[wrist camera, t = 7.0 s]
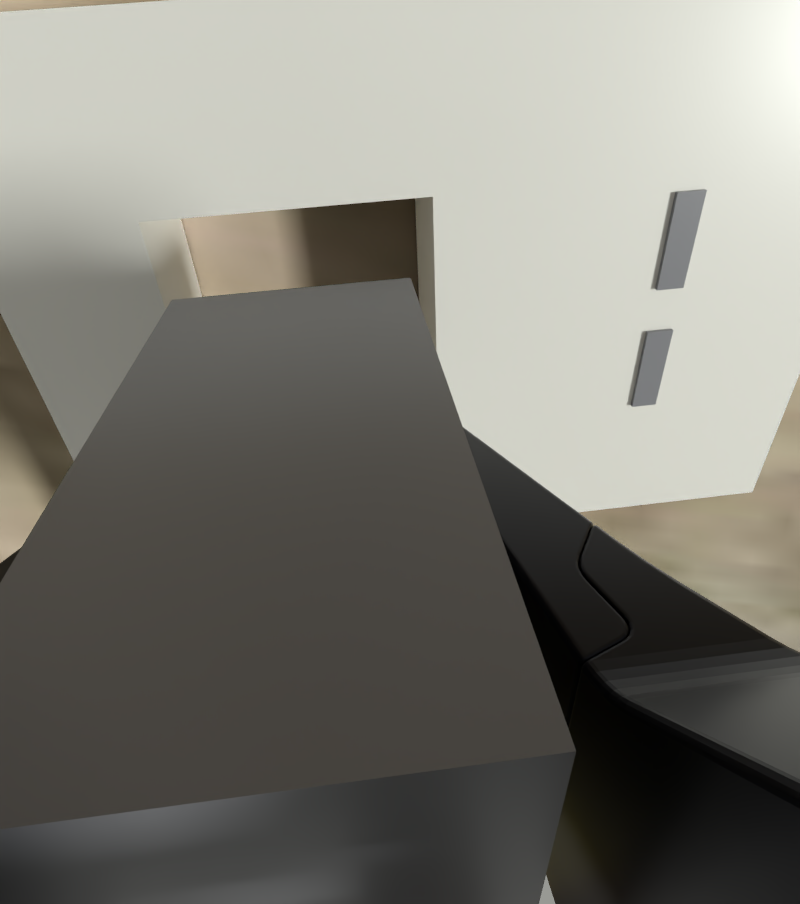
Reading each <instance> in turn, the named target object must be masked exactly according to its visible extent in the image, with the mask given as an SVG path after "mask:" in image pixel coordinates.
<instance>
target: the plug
mask: <svg viewBox="0 0 800 904" xmlns="http://www.w3.org/2000/svg"><path fill="white" fill-rule="evenodd" d="M575 754H576V749H575V746H574V743H573V741H572V738H571V735H570V732H569V729H568V726H567V723H566V721H565V718H564V715H563V712H562V709H561V706H560V703H559V701H558V698H557V695H556V692H555V689H554V686H553V683H552V681H551V678H550V675H549V672H548V669H547V666H546V663H545V661H544V658H543V655H542V652H541V649H540V646H539V643H538V641H537V638H536V635H535V632H534V629H533V626H532V623H531V621H530V618H529V615H528V612H527V609H526V606H525V603H524V601H523V598H522V595H521V592H520V589H519V586H518V583H517V581H516V578H515V575H514V572H513V569H512V566H511V563H510V561H509V558H508V555H507V552H506V549H505V546H504V543H503V541H502V538H501V535H500V532H499V529H498V526H497V523H496V521H495V518H494V515H493V512H492V509H491V506H490V503H489V501H488V498H487V495H486V492H485V489H484V486H483V483H482V481H481V478H480V475H479V472H478V469H477V466H476V463H475V461H474V458H473V455H472V452H471V449H470V446H469V443H468V441H467V438H466V435H465V432H464V429H463V426H462V423H461V421H460V418H459V415H458V412H457V409H456V406H455V403H454V401H453V398H452V395H451V392H450V389H449V386H448V383H447V381H446V378H445V375H444V372H443V369H442V366H441V363H440V361H439V358H438V355H437V352H436V349H435V346H434V343H433V341H432V338H431V335H430V332H429V329H428V326H427V323H426V321H425V318H424V315H423V312H422V309H421V306H420V303H419V301H418V298H417V295H416V292H415V289H414V286H413V283H412V281H411V278H401V279H390V280H379V281H369V282H358V283H347V284H336V285H326V286H315V287H304V288H293V289H283V290H272V291H261V292H250V293H240V294H229V295H218V296H207V297H197V298H186V299H175V300H171V302H170V303H169V305H168V307H167V308H166V310H165V312H164V313H163V315H162V317H161V318H160V320H159V321H158V323H157V325H156V326H155V328H154V330H153V331H152V333H151V335H150V336H149V338H148V340H147V341H146V343H145V345H144V346H143V348H142V350H141V351H140V353H139V354H138V356H137V358H136V359H135V361H134V363H133V364H132V366H131V368H130V369H129V371H128V373H127V374H126V376H125V378H124V379H123V381H122V383H121V384H120V386H119V388H118V389H117V391H116V392H115V394H114V396H113V397H112V399H111V401H110V402H109V404H108V406H107V407H106V409H105V411H104V412H103V414H102V416H101V417H100V419H99V421H98V422H97V424H96V425H95V427H94V429H93V430H92V432H91V434H90V435H89V437H88V439H87V440H86V442H85V444H84V445H83V447H82V449H81V450H80V452H79V454H78V455H77V457H76V458H75V460H74V462H73V463H72V465H71V467H70V468H69V470H68V472H67V473H66V475H65V477H64V478H63V480H62V482H61V483H60V485H59V487H58V488H57V490H56V491H55V493H54V495H53V496H52V498H51V500H50V501H49V503H48V505H47V506H46V508H45V510H44V511H43V513H42V515H41V516H40V518H39V520H38V521H37V523H36V524H35V526H34V528H33V529H32V531H31V533H30V534H29V536H28V538H27V539H26V541H25V543H24V544H23V546H22V548H21V549H20V551H19V553H18V554H17V556H16V557H15V559H14V561H13V562H12V564H11V566H10V567H9V569H8V571H7V572H6V574H5V576H4V577H3V579H2V581H1V582H0V904H539V900H540V896H541V892H542V888H543V884H544V880H545V876H546V872H547V868H548V864H549V860H550V856H551V852H552V848H553V844H554V840H555V835H556V831H557V827H558V823H559V819H560V815H561V811H562V807H563V803H564V799H565V795H566V791H567V787H568V783H569V779H570V775H571V771H572V766H573V762H574V758H575Z"/></svg>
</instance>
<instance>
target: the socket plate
mask: <svg viewBox="0 0 800 904" xmlns="http://www.w3.org/2000/svg"><path fill="white" fill-rule="evenodd" d="M412 198H415V213H416V238H417V262H418V287H419V303H420V306H421V309H422V312H423V315H424V318H425V321H426V323H427V326H428V329H429V332H430V335H431V338H432V341H433V343H434V346H435V349H436V352H437V355H438V358H439V361H440V363H441V366H442V369H443V372H444V375H445V378H446V381H447V383H448V386H449V389H450V392H451V395H452V398H453V401H454V403H455V406H456V409H457V412H458V415H459V418H460V421H461V423H462V426H463V427H464V428H465V429H466V430H468V431H469V432H470V433H472V434H473V435H475V436H476V437H477V438H479V439H480V440H481V441H483V442H484V443H485V444H487V445H488V446H489V447H491V448H492V449H493V450H495V451H496V452H497V453H499V454H500V455H502V456H503V457H504V458H506V459H507V460H508V461H510V462H511V463H512V464H514V465H515V466H516V467H518V468H519V469H520V470H522V471H523V472H524V473H526V474H527V475H529V476H530V477H531V478H533V479H534V480H535V481H537V482H538V483H539V484H541V485H542V486H543V487H545V488H546V489H547V490H549V491H550V492H551V493H553V494H554V495H556V496H557V497H558V498H560V499H561V500H562V501H564V502H565V503H566V504H568V505H569V506H570V507H572V508H573V509H574V510H576V511H577V512H585V511H593V510H602V509H610V508H619V507H628V506H636V505H645V504H653V503H662V502H671V501H679V500H688V499H696V498H705V497H714V496H722V495H731V494H739V493H748V492H753V489H754V487H755V484H756V482H757V479H758V477H759V474H760V472H761V469H762V467H763V464H764V462H765V459H766V457H767V454H768V452H769V449H770V446H771V444H772V441H773V439H774V436H775V434H776V431H777V429H778V426H779V424H780V421H781V419H782V416H783V414H784V411H785V409H786V406H787V404H788V401H789V399H790V396H791V394H792V391H793V389H794V386H795V384H796V381H797V379H798V376H799V374H800V0H168V1H153V2H139V3H124V4H109V5H95V6H80V7H65V8H51V9H36V10H21V11H7V12H0V314H1V316H2V318H3V320H4V322H5V324H6V326H7V328H8V330H9V332H10V334H11V336H12V338H13V340H14V342H15V344H16V346H17V348H18V350H19V352H20V354H21V356H22V358H23V360H24V362H25V364H26V366H27V368H28V370H29V372H30V374H31V376H32V378H33V380H34V382H35V384H36V386H37V388H38V390H39V392H40V394H41V396H42V398H43V400H44V402H45V404H46V406H47V408H48V410H49V412H50V414H51V416H52V418H53V420H54V422H55V424H56V426H57V428H58V430H59V432H60V435H61V437H62V439H63V441H64V443H65V445H66V447H67V449H68V451H69V453H70V455H71V457H72V459H73V461H74V460H75V458H76V457H77V455H78V454H79V452H80V450H81V449H82V447H83V445H84V444H85V442H86V440H87V439H88V437H89V435H90V434H91V432H92V430H93V429H94V427H95V425H96V424H97V422H98V421H99V419H100V417H101V416H102V414H103V412H104V411H105V409H106V407H107V406H108V404H109V402H110V401H111V399H112V397H113V396H114V394H115V392H116V391H117V389H118V388H119V386H120V384H121V383H122V381H123V379H124V378H125V376H126V374H127V373H128V371H129V369H130V368H131V366H132V364H133V363H134V361H135V359H136V358H137V356H138V354H139V353H140V351H141V350H142V348H143V346H144V345H145V343H146V341H147V340H148V338H149V336H150V335H151V333H152V331H153V330H154V328H155V326H156V325H157V323H158V321H159V320H160V318H161V317H162V315H163V313H164V312H165V310H166V308H167V307H168V305H169V303H170V302H171V300H175V299H186V298H197V297H202V294H201V291H200V287H199V283H198V280H197V276H196V272H195V269H194V265H193V261H192V258H191V254H190V250H189V247H188V243H187V239H186V236H185V232H184V228H183V225H182V221H181V219H182V218H194V217H205V216H217V215H228V214H240V213H251V212H263V211H274V210H286V209H297V208H309V207H320V206H332V205H343V204H355V203H366V202H378V201H389V200H401V199H412Z"/></svg>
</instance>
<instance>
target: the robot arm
mask: <svg viewBox="0 0 800 904" xmlns="http://www.w3.org/2000/svg"><path fill="white" fill-rule="evenodd" d="M463 429H464V432H465V435H466V438H467V441H468V443H469V446H470V449H471V452H472V455H473V458H474V461H475V463H476V466H477V469H478V472H479V475H480V478H481V481H482V483H483V486H484V489H485V492H486V495H487V498H488V501H489V503H490V506H491V509H492V512H493V515H494V518H495V521H496V523H497V526H498V529H499V532H500V535H501V538H502V541H503V543H504V546H505V549H506V552H507V555H508V558H509V561H510V563H511V566H512V569H513V572H514V575H515V578H516V581H517V583H518V586H519V589H520V592H521V595H522V598H523V601H524V603H525V606H526V609H527V612H528V615H529V618H530V621H531V623H532V626H533V629H534V632H535V635H536V638H537V641H538V643H539V646H540V649H541V652H542V655H543V658H544V661H545V663H546V666H547V669H548V672H549V675H550V678H551V681H552V683H553V686H554V689H555V692H556V695H557V698H558V701H559V703H560V706H561V709H562V712H563V715H564V718H565V721H566V723H567V726H568V729H569V732H570V735H571V738H572V741H573V743H574V746H575V749H576V754H575V758H574V762H573V766H572V771H571V775H570V779H569V783H568V787H567V791H566V795H565V799H564V803H563V807H562V811H561V815H560V819H559V823H558V827H557V831H556V835H555V840H554V844H553V848H552V852H551V856H550V860H549V864H548V868H547V872H546V875H547V878H548V881H549V885H550V888H551V891H552V894H553V897H554V900H555V903H556V904H800V652H798V651H796V650H794V649H791V648H789V647H787V646H785V645H784V644H782V643H780V642H778V641H776V640H775V639H773V638H771V637H769V636H768V635H766V634H764V633H763V632H761V631H760V630H758V629H756V628H755V627H753V626H751V625H750V624H748V623H746V622H745V621H743V620H741V619H740V618H738V617H736V616H735V615H733V614H731V613H730V612H728V611H726V610H725V609H723V608H721V607H720V606H718V605H716V604H715V603H713V602H712V601H710V600H708V599H707V598H705V597H703V596H702V595H700V594H698V593H697V592H695V591H693V590H692V589H690V588H688V587H687V586H685V585H683V584H682V583H680V582H678V581H677V580H675V579H674V578H672V577H671V576H669V575H667V574H666V573H664V572H663V571H661V570H660V569H658V568H656V567H655V566H653V565H652V564H650V563H648V562H647V561H645V560H644V559H642V558H641V557H640V556H638V555H637V554H635V553H634V552H632V551H631V550H630V549H628V548H627V547H625V546H624V545H622V544H621V543H620V542H618V541H617V540H615V539H614V538H613V537H611V536H610V535H609V534H607V533H606V532H604V531H603V530H602V529H600V528H599V527H598V526H593V524H592V522H591V521H589V520H588V519H587V518H585V517H584V516H583V515H581V514H580V513H578V512H577V511H576V510H574V509H573V508H572V507H570V506H569V505H568V504H566V503H565V502H564V501H562V500H561V499H560V498H558V497H557V496H556V495H554V494H553V493H551V492H550V491H549V490H547V489H546V488H545V487H543V486H542V485H541V484H539V483H538V482H537V481H535V480H534V479H533V478H531V477H530V476H529V475H527V474H526V473H524V472H523V471H522V470H520V469H519V468H518V467H516V466H515V465H514V464H512V463H511V462H510V461H508V460H507V459H506V458H504V457H503V456H502V455H500V454H499V453H497V452H496V451H495V450H493V449H492V448H491V447H489V446H488V445H487V444H485V443H484V442H483V441H481V440H480V439H479V438H477V437H476V436H475V435H473V434H472V433H470V432H469V431H468V430H466V429H465V428H464V427H463ZM21 548H22V547H21ZM21 548H20V549H21ZM20 549H19V550H17V551H16V552H15V553H13V554H12V555H11V556H9V557H8V558H7V559H5V560H4V561H3V562H1V563H0V582H1V581H2V579H3V577H4V576H5V574H6V572H7V571H8V569H9V567H10V566H11V564H12V562H13V561H14V559H15V557H16V556H17V554H18V553H19V551H20Z"/></svg>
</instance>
